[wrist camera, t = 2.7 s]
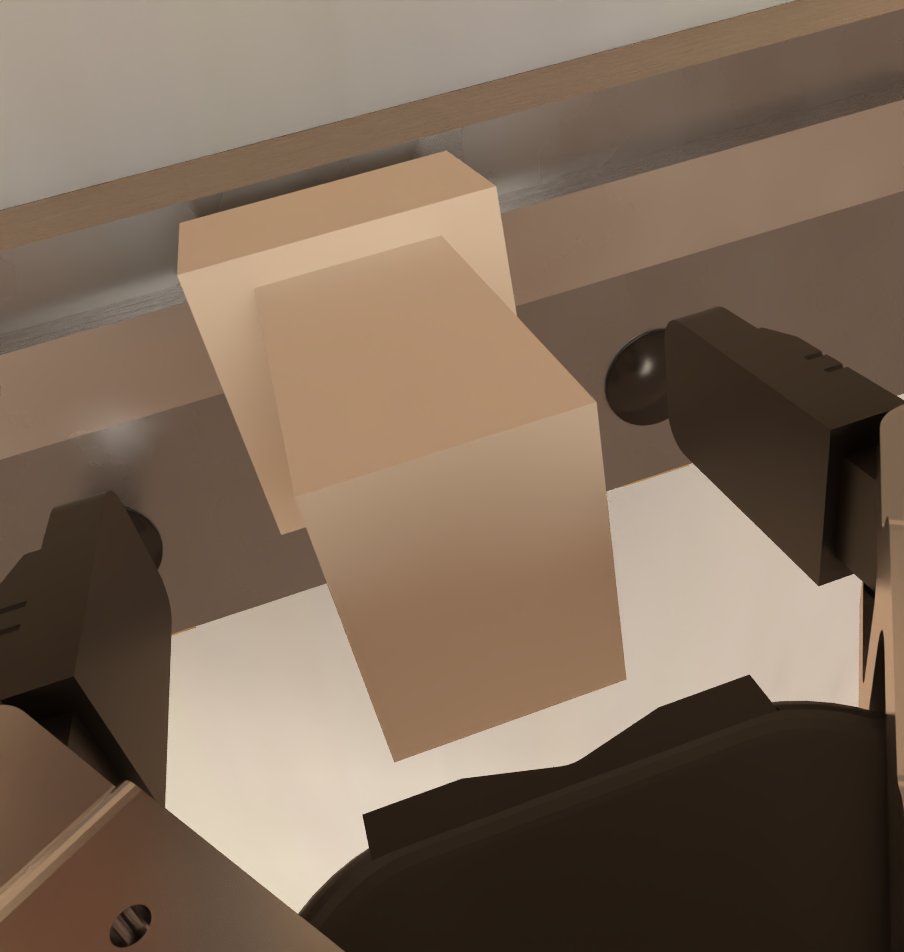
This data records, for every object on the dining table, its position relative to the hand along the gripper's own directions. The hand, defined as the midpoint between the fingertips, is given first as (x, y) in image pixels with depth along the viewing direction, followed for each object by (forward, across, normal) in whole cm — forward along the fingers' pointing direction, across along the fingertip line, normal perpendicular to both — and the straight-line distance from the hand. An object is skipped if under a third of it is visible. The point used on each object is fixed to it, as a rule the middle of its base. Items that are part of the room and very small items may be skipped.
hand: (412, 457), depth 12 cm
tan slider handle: (+7, 0, +2) cm, 7 cm away
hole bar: (+11, -1, +2) cm, 11 cm away
